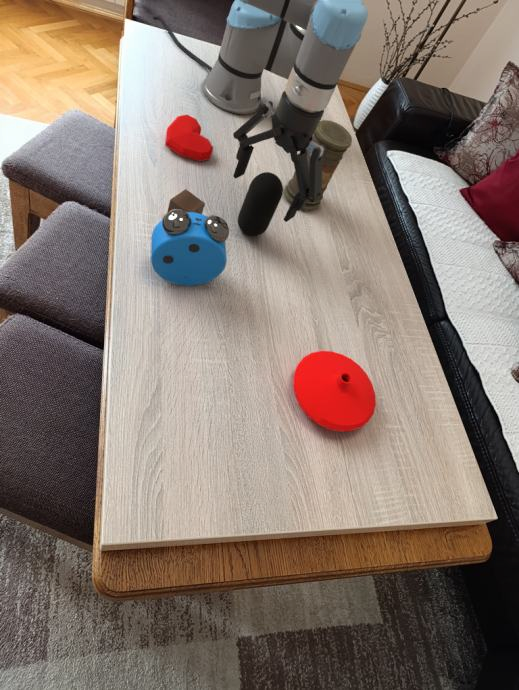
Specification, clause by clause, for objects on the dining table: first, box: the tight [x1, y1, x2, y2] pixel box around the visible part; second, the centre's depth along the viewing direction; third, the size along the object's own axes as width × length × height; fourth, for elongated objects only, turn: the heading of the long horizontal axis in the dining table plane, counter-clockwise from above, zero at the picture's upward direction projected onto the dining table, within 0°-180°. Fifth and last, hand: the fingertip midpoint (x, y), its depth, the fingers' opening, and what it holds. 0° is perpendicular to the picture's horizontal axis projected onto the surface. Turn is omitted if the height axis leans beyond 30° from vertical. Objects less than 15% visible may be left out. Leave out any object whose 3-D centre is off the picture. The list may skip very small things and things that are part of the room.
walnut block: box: [166, 188, 206, 215], centre depth 100 cm, size 5×5×5 cm
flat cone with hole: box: [292, 350, 377, 432], centre depth 87 cm, size 16×16×7 cm
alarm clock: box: [150, 209, 230, 287], centre depth 89 cm, size 13×6×15 cm, turn 96°
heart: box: [165, 114, 214, 162], centre depth 114 cm, size 12×4×10 cm
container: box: [284, 119, 353, 212], centre depth 112 cm, size 9×9×18 cm
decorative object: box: [237, 171, 284, 238], centre depth 101 cm, size 7×7×15 cm
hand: (263, 196), depth 99 cm, fingers open, 13 cm apart
